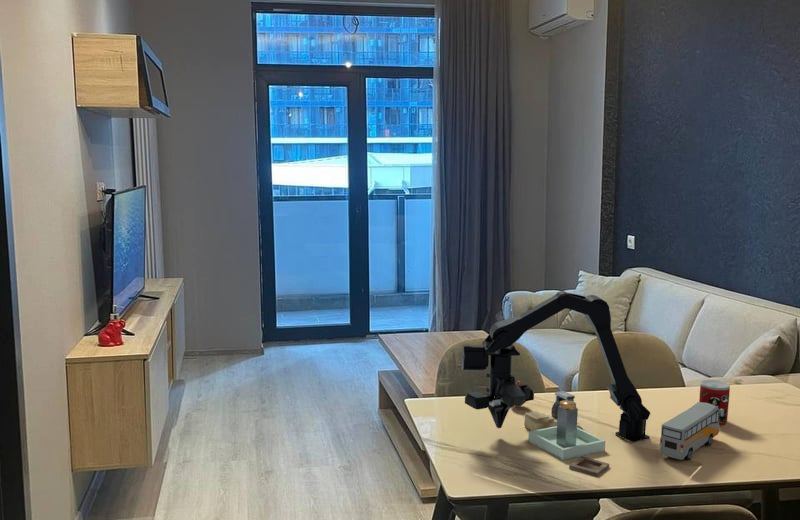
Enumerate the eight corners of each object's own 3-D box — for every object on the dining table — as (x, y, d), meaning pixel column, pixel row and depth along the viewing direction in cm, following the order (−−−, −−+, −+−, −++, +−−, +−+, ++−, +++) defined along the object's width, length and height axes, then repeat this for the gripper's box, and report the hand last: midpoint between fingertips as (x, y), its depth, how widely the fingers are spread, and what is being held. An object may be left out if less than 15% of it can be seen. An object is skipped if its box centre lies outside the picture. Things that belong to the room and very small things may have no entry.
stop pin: (567, 440, 188) (568, 399, 187) (577, 445, 185) (579, 404, 183) (554, 442, 186) (556, 401, 185) (565, 448, 183) (567, 406, 182)
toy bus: (721, 439, 193) (724, 403, 191) (682, 467, 174) (685, 428, 173) (696, 433, 197) (698, 397, 196) (655, 459, 179) (658, 420, 177)
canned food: (698, 423, 204) (700, 385, 203) (697, 414, 212) (700, 378, 210) (727, 427, 201) (730, 389, 200) (726, 418, 209) (729, 381, 207)
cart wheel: (567, 418, 207) (568, 389, 206) (579, 424, 202) (580, 394, 201) (547, 422, 204) (549, 393, 203) (559, 428, 199) (560, 398, 198)
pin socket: (581, 460, 177) (581, 456, 177) (609, 468, 173) (609, 463, 173) (569, 470, 172) (569, 465, 172) (597, 478, 168) (597, 473, 167)
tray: (568, 434, 195) (569, 423, 194) (604, 452, 183) (605, 440, 182) (528, 442, 189) (528, 431, 188) (562, 461, 177) (563, 450, 176)
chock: (548, 423, 204) (549, 408, 203) (560, 429, 199) (561, 414, 199) (524, 428, 200) (524, 413, 199) (535, 434, 196) (536, 419, 195)
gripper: (488, 383, 179) (486, 444, 181) (548, 374, 188) (546, 432, 190) (464, 372, 189) (462, 429, 191) (522, 363, 198) (520, 418, 200)
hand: (498, 427), depth 193 cm, fingers closed
